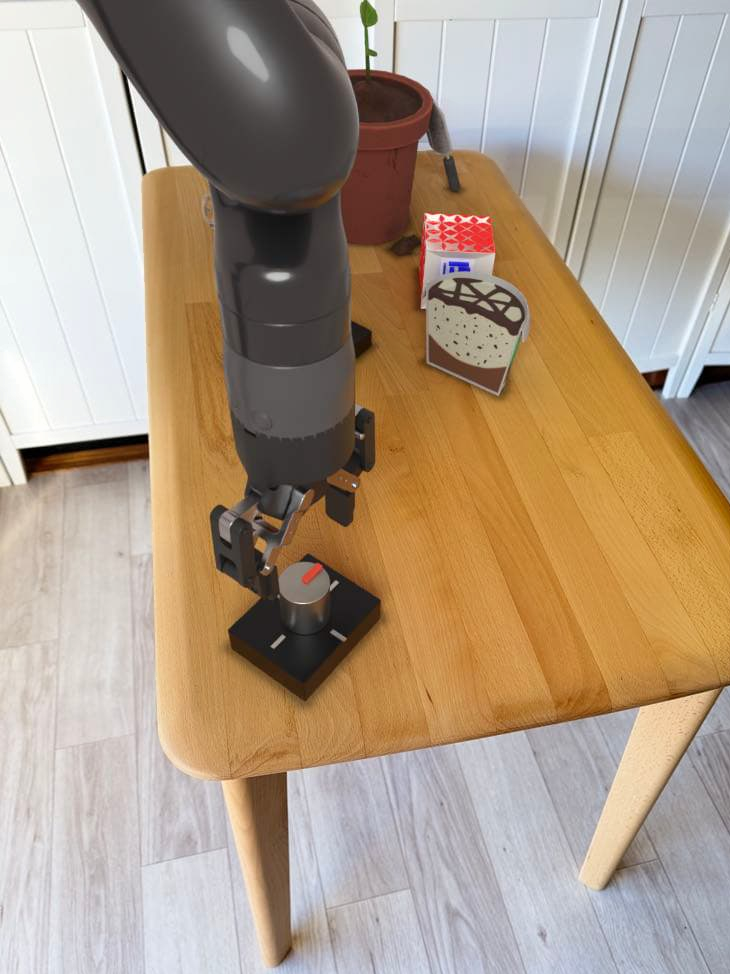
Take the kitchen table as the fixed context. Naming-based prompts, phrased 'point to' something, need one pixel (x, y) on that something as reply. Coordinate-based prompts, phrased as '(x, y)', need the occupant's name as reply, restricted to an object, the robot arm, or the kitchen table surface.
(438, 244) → the red white box
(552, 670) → the kitchen table surface
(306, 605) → the dial
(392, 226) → the potted plant
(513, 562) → the kitchen table surface
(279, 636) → the dial panel
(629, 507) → the kitchen table surface
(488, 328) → the food container
